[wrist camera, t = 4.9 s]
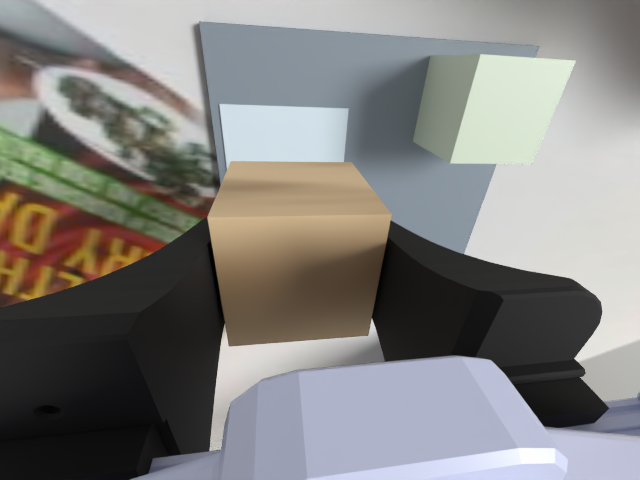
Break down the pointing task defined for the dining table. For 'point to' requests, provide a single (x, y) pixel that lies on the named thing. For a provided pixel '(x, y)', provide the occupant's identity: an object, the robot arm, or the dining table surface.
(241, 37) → the slate board
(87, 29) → the dining table surface
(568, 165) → the dining table surface
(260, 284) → the oak block
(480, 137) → the sage block
